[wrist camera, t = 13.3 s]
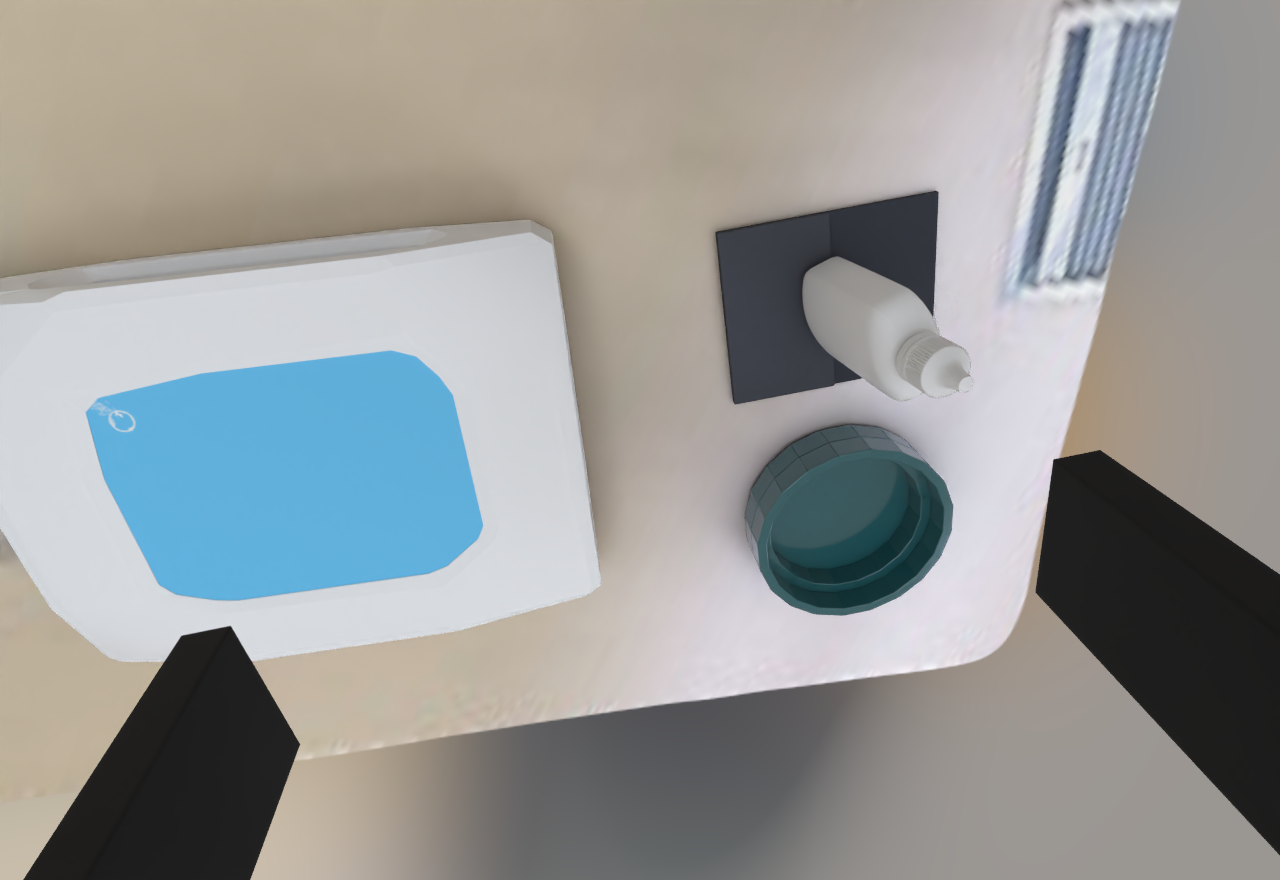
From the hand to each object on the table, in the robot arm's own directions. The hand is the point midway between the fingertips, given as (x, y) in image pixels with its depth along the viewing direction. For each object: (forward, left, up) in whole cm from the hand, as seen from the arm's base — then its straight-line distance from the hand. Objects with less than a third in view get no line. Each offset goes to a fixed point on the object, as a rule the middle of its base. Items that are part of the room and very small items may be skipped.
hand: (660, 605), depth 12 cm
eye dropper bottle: (+6, +13, -28) cm, 32 cm away
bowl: (+20, +13, -29) cm, 37 cm away
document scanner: (+8, -16, -29) cm, 34 cm away
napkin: (+6, +13, -29) cm, 32 cm away
